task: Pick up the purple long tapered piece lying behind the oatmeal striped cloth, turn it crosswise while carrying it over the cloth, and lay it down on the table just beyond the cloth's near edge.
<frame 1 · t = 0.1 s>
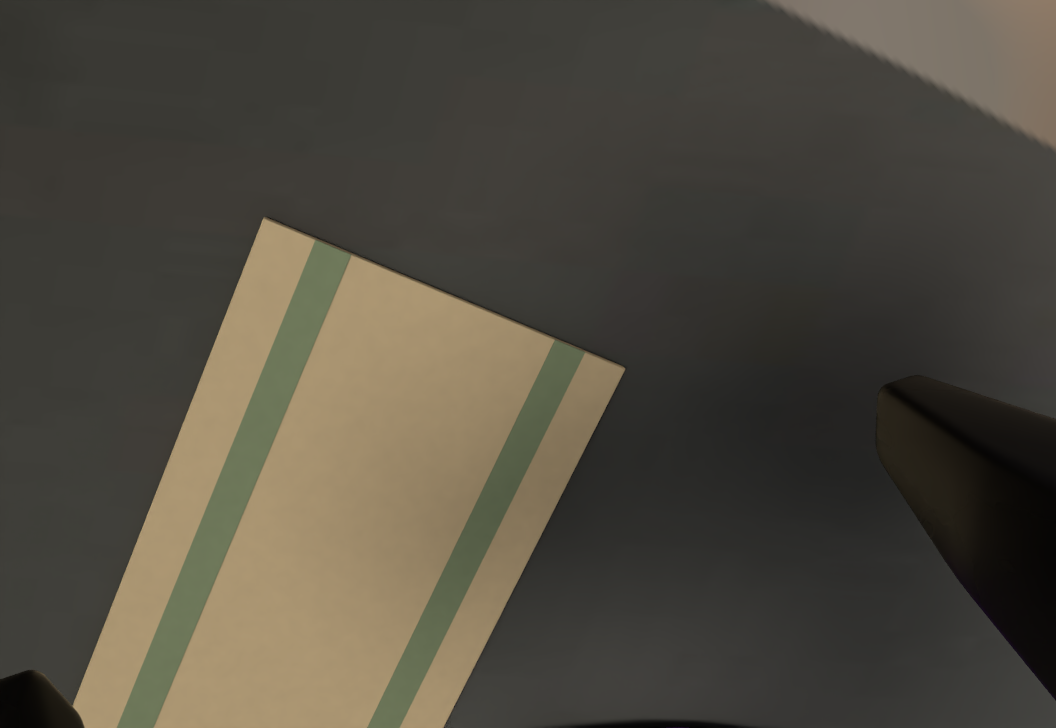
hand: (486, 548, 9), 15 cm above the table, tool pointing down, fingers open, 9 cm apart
cloth: (323, 590, 26), on the table
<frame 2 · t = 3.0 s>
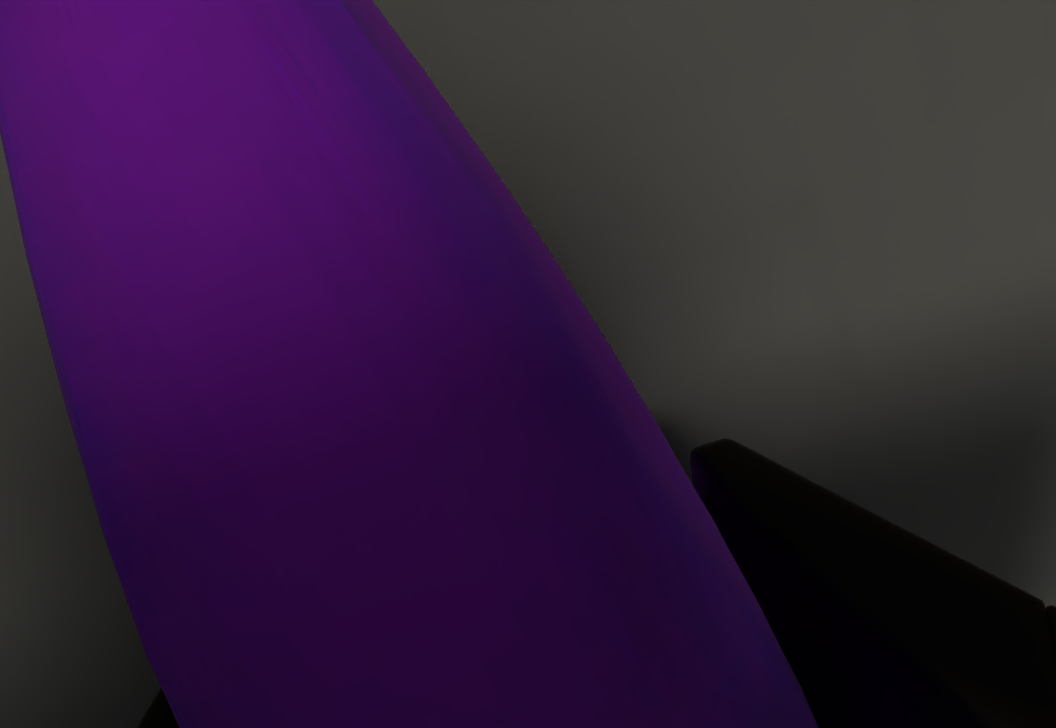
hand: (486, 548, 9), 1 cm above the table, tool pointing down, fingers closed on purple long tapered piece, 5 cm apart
purple long tapered piece: (451, 467, 10), on the table, touching gripper
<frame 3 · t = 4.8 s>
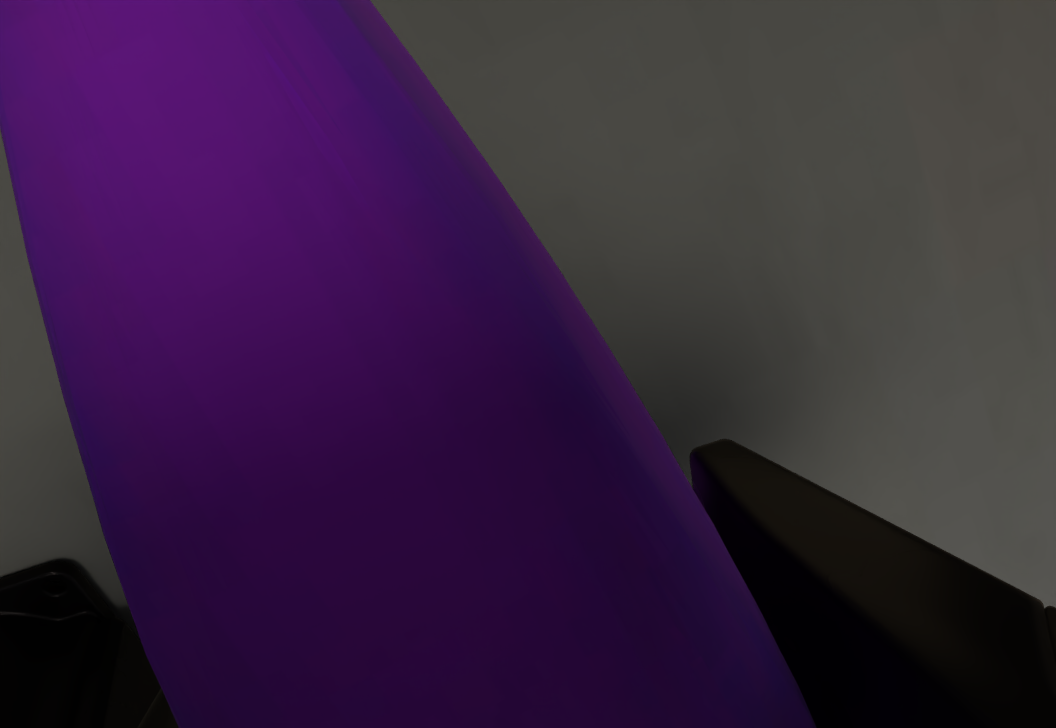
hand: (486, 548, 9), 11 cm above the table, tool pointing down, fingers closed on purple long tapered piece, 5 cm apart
purple long tapered piece: (451, 469, 10), point 10 cm above the table, touching gripper
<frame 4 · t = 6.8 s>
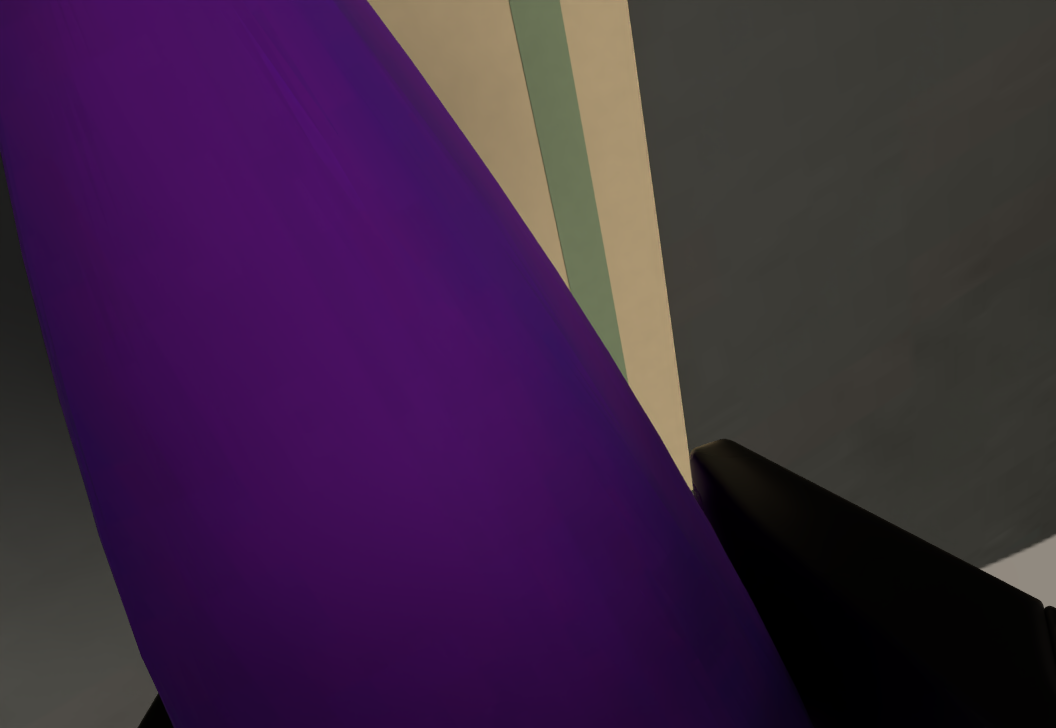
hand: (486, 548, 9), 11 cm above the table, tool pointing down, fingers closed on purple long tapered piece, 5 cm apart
purple long tapered piece: (449, 469, 10), point 10 cm above the table, touching gripper
cloth: (421, 247, 19), on the table
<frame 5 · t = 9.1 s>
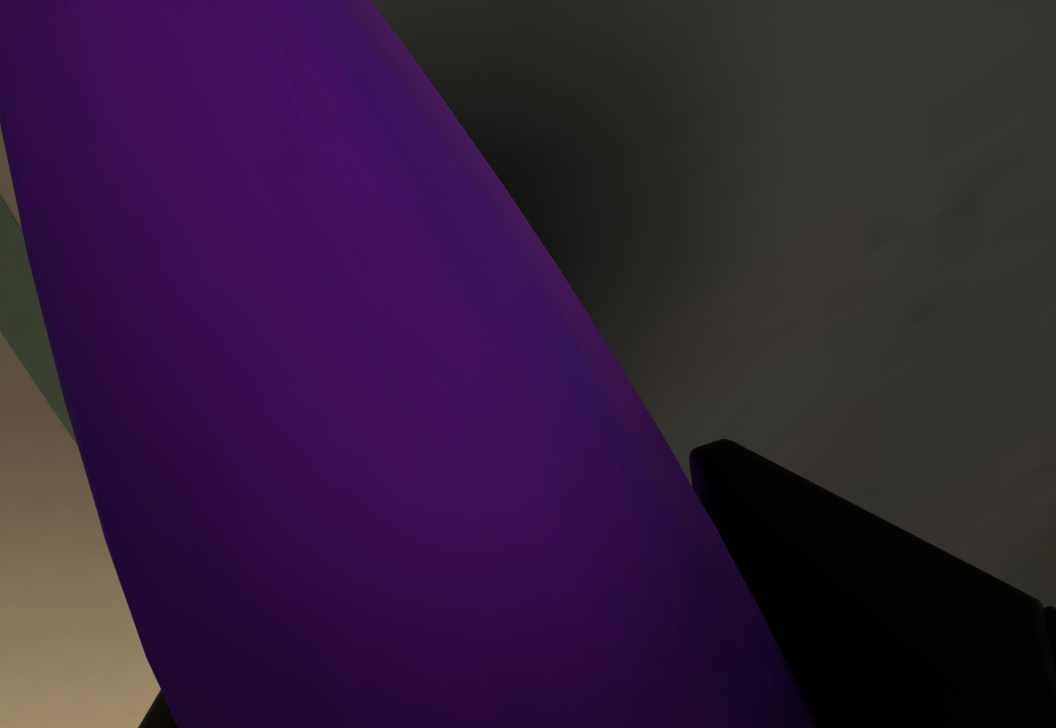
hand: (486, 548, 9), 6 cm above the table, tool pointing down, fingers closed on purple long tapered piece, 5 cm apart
purple long tapered piece: (452, 471, 10), point 5 cm above the table, touching gripper
when the fingers open (1 cm above the table, at t = 10.8 s): purple long tapered piece stays where it is, on the table.
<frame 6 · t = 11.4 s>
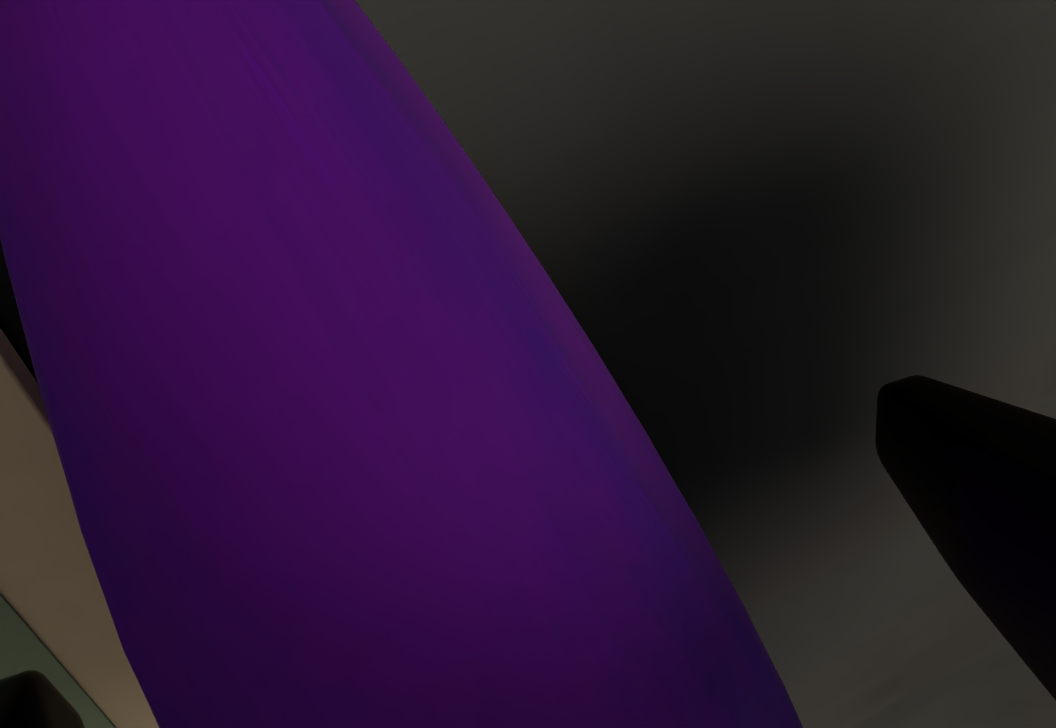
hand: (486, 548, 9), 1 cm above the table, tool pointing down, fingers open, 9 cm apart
purple long tapered piece: (440, 467, 10), on the table
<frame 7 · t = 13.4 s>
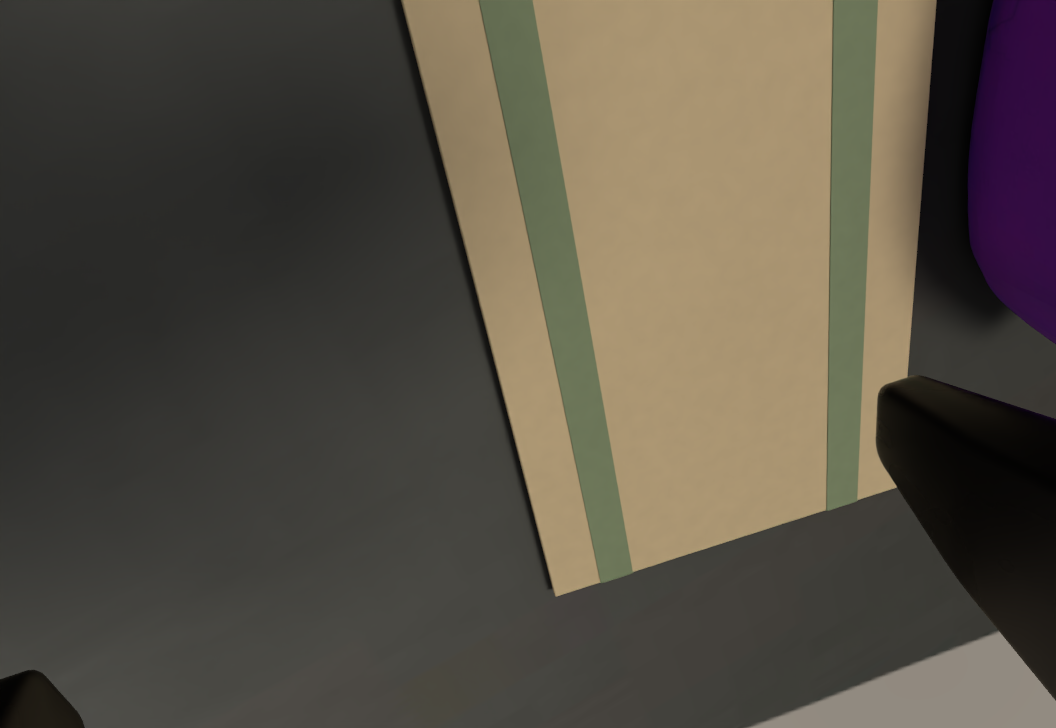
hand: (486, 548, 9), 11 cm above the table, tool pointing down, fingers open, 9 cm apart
purple long tapered piece: (1043, 58, 20), on the table
cloth: (702, 238, 20), on the table
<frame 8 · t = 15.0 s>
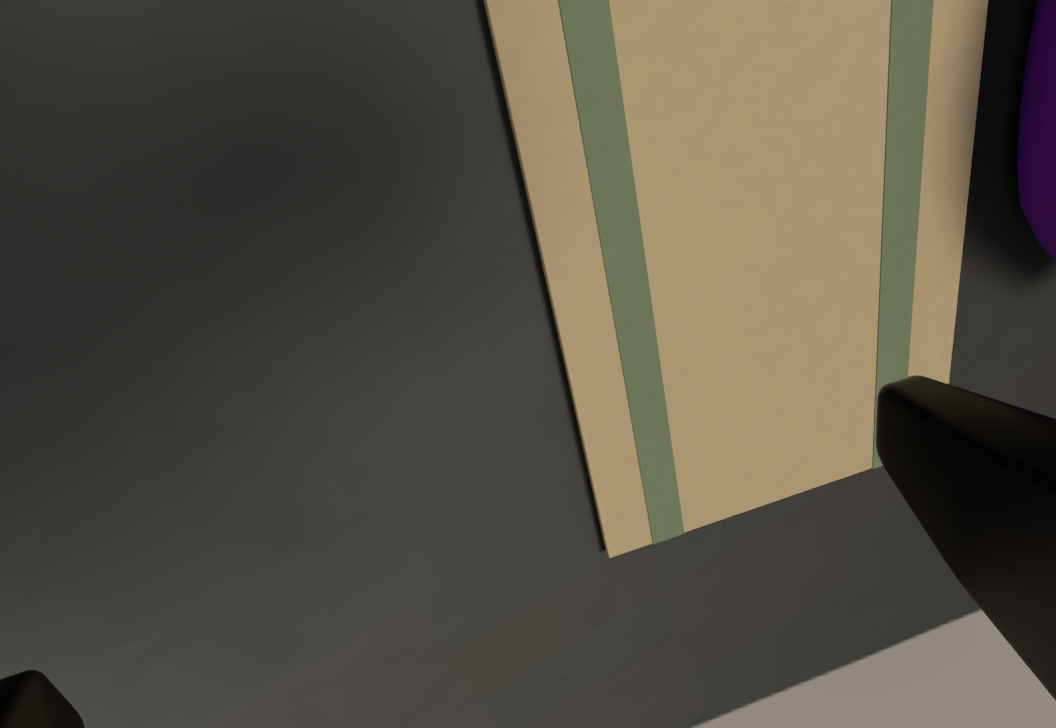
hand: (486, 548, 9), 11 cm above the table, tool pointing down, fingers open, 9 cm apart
cloth: (759, 197, 20), on the table
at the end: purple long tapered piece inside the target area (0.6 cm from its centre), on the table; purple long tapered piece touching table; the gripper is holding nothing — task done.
